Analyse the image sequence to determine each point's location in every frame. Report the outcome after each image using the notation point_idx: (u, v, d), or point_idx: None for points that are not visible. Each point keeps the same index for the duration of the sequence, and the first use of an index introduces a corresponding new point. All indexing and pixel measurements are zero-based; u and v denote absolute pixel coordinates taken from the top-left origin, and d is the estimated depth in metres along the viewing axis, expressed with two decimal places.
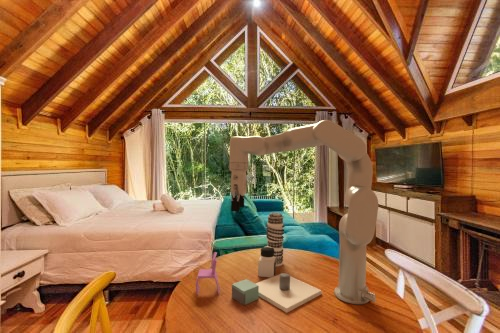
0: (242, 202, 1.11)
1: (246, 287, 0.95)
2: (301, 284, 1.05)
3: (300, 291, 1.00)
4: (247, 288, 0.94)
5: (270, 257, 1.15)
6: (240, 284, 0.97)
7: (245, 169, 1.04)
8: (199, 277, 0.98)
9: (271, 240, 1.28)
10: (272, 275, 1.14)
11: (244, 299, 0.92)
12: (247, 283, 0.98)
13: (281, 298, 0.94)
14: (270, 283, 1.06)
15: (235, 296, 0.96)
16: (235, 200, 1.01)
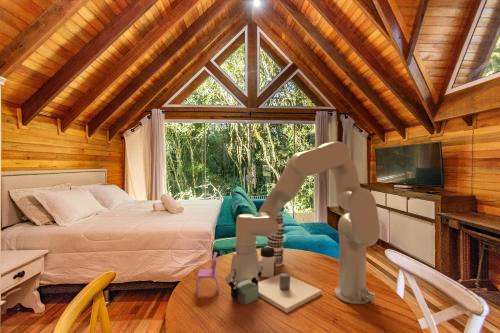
0: None
1: (246, 287, 0.95)
2: (301, 284, 1.05)
3: (300, 291, 1.00)
4: (247, 288, 0.94)
5: (270, 257, 1.15)
6: (240, 284, 0.97)
7: None
8: (199, 277, 0.98)
9: (271, 240, 1.28)
10: (272, 275, 1.14)
11: (244, 299, 0.92)
12: (247, 283, 0.98)
13: (281, 298, 0.94)
14: (270, 283, 1.06)
15: None
16: None
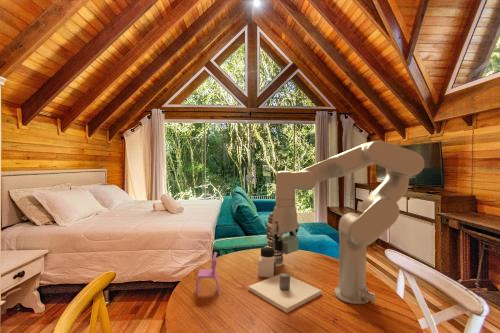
0: None
1: (287, 238, 1.00)
2: (301, 284, 1.05)
3: (300, 291, 1.00)
4: (288, 239, 0.99)
5: (270, 257, 1.15)
6: None
7: None
8: (199, 277, 0.98)
9: (271, 240, 1.28)
10: (272, 275, 1.14)
11: (286, 248, 0.97)
12: (287, 236, 1.03)
13: (281, 298, 0.94)
14: (270, 283, 1.06)
15: None
16: None
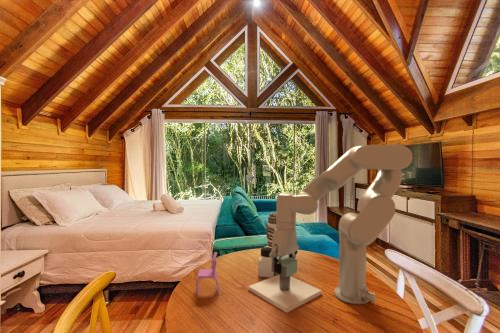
0: None
1: (286, 261, 1.00)
2: (301, 284, 1.05)
3: (300, 291, 1.00)
4: (287, 262, 0.99)
5: (270, 257, 1.15)
6: None
7: None
8: (199, 277, 0.98)
9: (271, 240, 1.28)
10: (272, 275, 1.14)
11: (285, 272, 0.97)
12: (286, 258, 1.03)
13: (281, 298, 0.94)
14: (270, 283, 1.06)
15: None
16: None
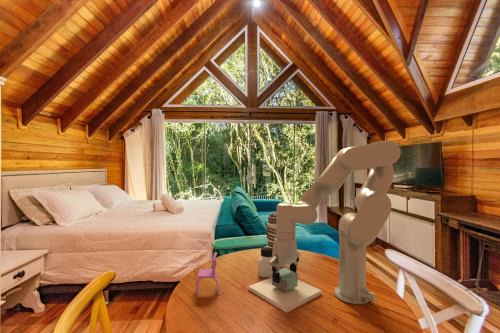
0: None
1: (286, 275, 1.00)
2: (301, 284, 1.05)
3: (300, 291, 1.00)
4: (288, 276, 0.99)
5: (270, 257, 1.15)
6: (280, 272, 1.02)
7: None
8: (199, 277, 0.98)
9: (271, 240, 1.28)
10: None
11: (286, 286, 0.97)
12: (286, 271, 1.03)
13: (281, 298, 0.94)
14: (270, 283, 1.06)
15: (276, 283, 1.01)
16: None
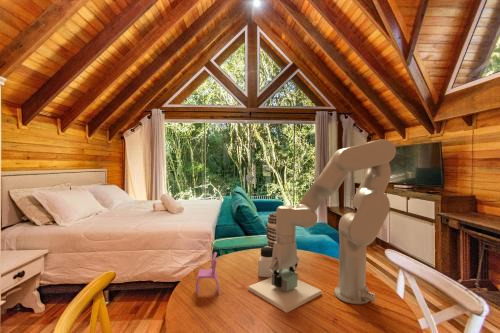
0: None
1: (286, 275, 1.00)
2: (301, 284, 1.05)
3: (300, 291, 1.00)
4: (288, 275, 0.99)
5: (270, 257, 1.15)
6: None
7: None
8: (199, 277, 0.98)
9: (271, 240, 1.28)
10: None
11: (285, 286, 0.97)
12: (286, 271, 1.03)
13: (281, 298, 0.94)
14: (270, 283, 1.06)
15: None
16: None
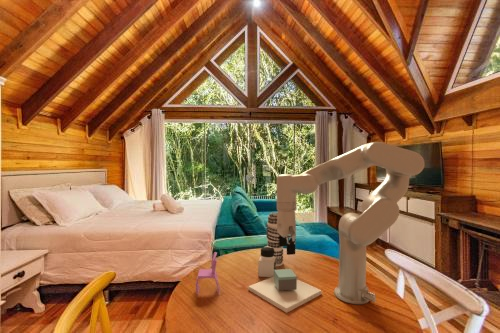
0: None
1: (290, 273, 1.01)
2: (301, 284, 1.05)
3: (300, 291, 1.00)
4: (292, 273, 1.01)
5: (270, 257, 1.15)
6: (282, 274, 1.01)
7: None
8: (199, 277, 0.98)
9: (271, 240, 1.28)
10: (272, 275, 1.14)
11: None
12: (283, 271, 1.03)
13: (281, 298, 0.94)
14: (270, 283, 1.06)
15: (284, 286, 0.98)
16: None
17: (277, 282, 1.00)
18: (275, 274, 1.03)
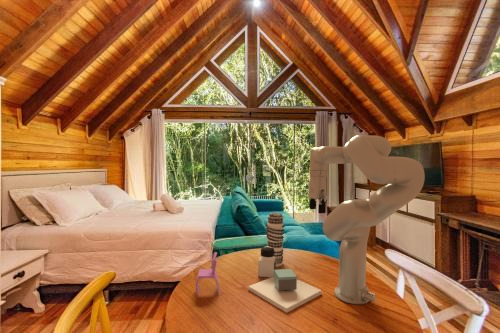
0: None
1: (290, 273, 1.01)
2: (301, 284, 1.05)
3: (300, 291, 1.00)
4: (292, 273, 1.01)
5: (270, 257, 1.15)
6: (282, 274, 1.01)
7: None
8: (199, 277, 0.98)
9: (271, 240, 1.28)
10: (272, 275, 1.14)
11: None
12: (283, 271, 1.03)
13: (281, 298, 0.94)
14: (270, 283, 1.06)
15: (284, 286, 0.98)
16: None
17: (277, 282, 1.00)
18: (275, 274, 1.03)
